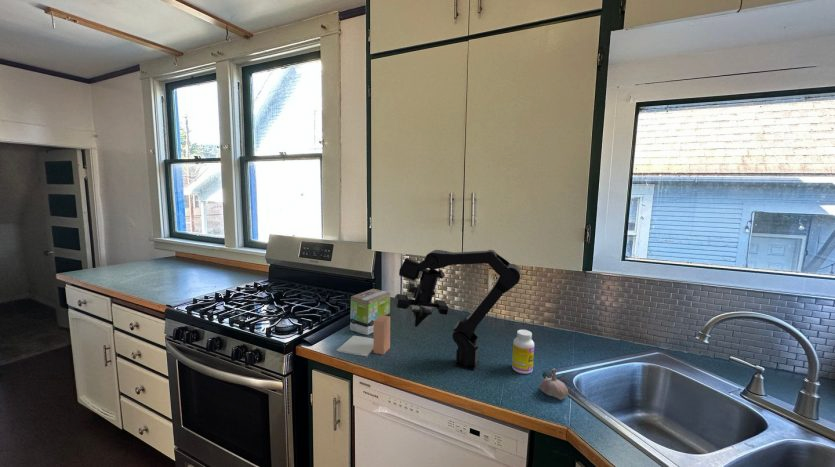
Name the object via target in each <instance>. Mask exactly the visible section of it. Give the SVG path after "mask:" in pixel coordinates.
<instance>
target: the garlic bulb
mask: <svg viewBox="0 0 835 467" xmlns="http://www.w3.org/2000/svg"><path fill="white" fill-rule="evenodd" d="M556 373H557V372H556V368H555V367H554V368H552V370H551V374H552V375H551V377H546V378H543V379H542V381H541V383H539V384H540V385H539V388H540V391H541V392H543V393H544V394H545V395H547V396H549V397H554V398H556V399H558V400H564V399H566V398H567V397H568V396H569V390H568V387H567V386H566V384H565V383H564V381H563V382H562V381H561V380H560V379H557V374H556Z"/></svg>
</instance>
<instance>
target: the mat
mask: <svg viewBox="0 0 835 467" xmlns="http://www.w3.org/2000/svg"><path fill="white" fill-rule="evenodd" d="M373 344H374V337H365V336H360V335H352V336H351V337H350V338H349V339H347V341H345V342H344V343H343V344H342V345H341V346H339V347H338V348H337V349H336V352H339V353H345V354H349V355H356V356H361V357H366V358H367V357H368V356H369V355H370V354H371V353H372V352H373Z"/></svg>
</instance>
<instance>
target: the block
mask: <svg viewBox="0 0 835 467" xmlns="http://www.w3.org/2000/svg"><path fill="white" fill-rule="evenodd" d="M373 339H374V344H373V351H372V352H373V354H380V355H385V354H386V352H388V350H389V349H390V348H391V315H390V316H383V315H380V316H379V317H377V318H376V319H375V320H374V332H373Z"/></svg>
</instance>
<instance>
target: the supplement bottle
mask: <svg viewBox="0 0 835 467" xmlns="http://www.w3.org/2000/svg"><path fill="white" fill-rule="evenodd" d="M532 338H533V333H532V332H531V331H530V330H527V329H518V330H517V332H516V337H515V338H514V339H513V344H512V359H511V366H512V370H513V371H515V372H516V373H519V374H525V375H527V374H531V373H532V372H533V368H534V357H535V342H534V341H533V339H532Z"/></svg>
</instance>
